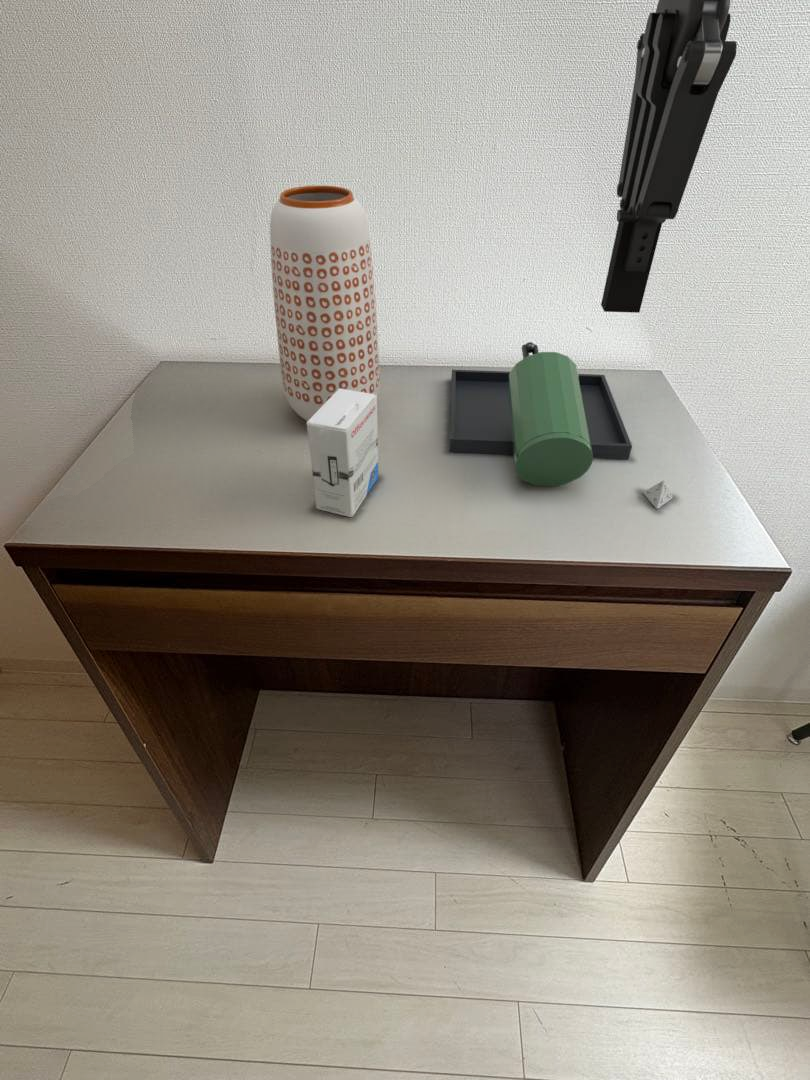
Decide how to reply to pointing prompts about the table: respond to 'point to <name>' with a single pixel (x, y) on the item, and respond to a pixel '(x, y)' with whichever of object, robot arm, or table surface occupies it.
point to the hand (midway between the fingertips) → (620, 308)
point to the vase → (323, 296)
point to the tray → (488, 424)
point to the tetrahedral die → (658, 494)
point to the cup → (548, 420)
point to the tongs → (529, 349)
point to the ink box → (344, 450)
